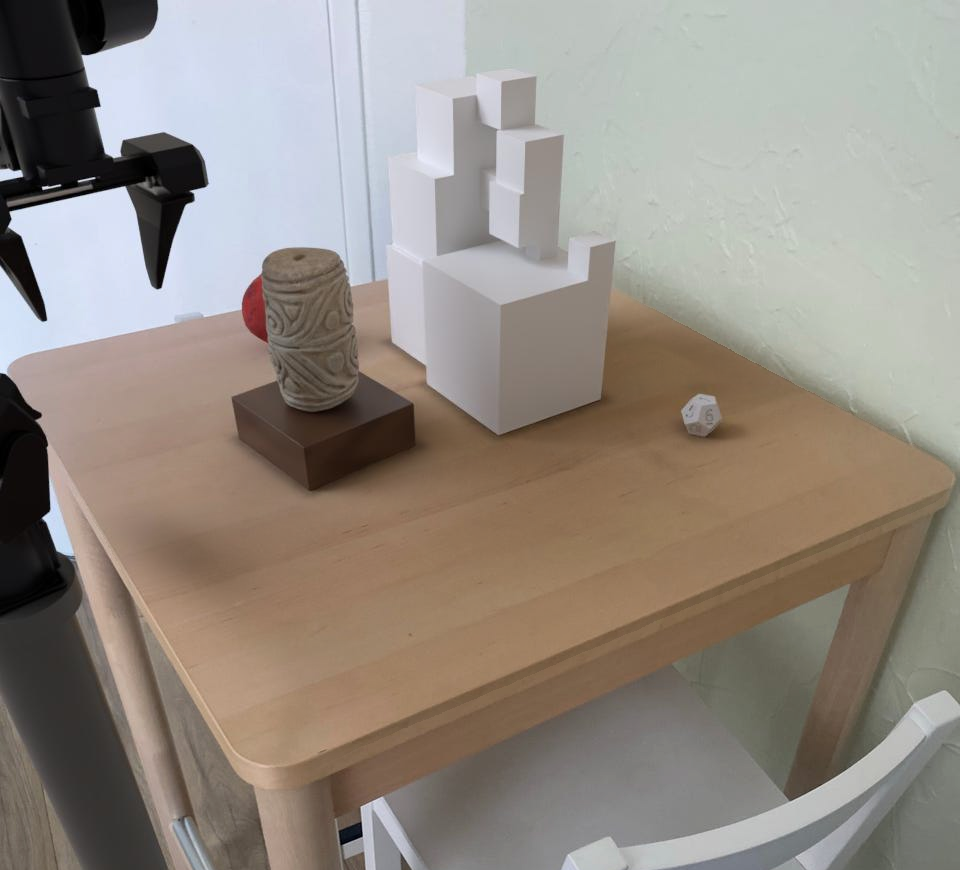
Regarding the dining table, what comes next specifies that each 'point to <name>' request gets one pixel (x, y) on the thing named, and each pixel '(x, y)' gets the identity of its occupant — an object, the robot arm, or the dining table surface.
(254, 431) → the walnut block
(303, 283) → the carving
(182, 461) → the dining table surface
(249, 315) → the onion
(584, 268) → the building blocks
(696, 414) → the game die
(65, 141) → the robot arm
